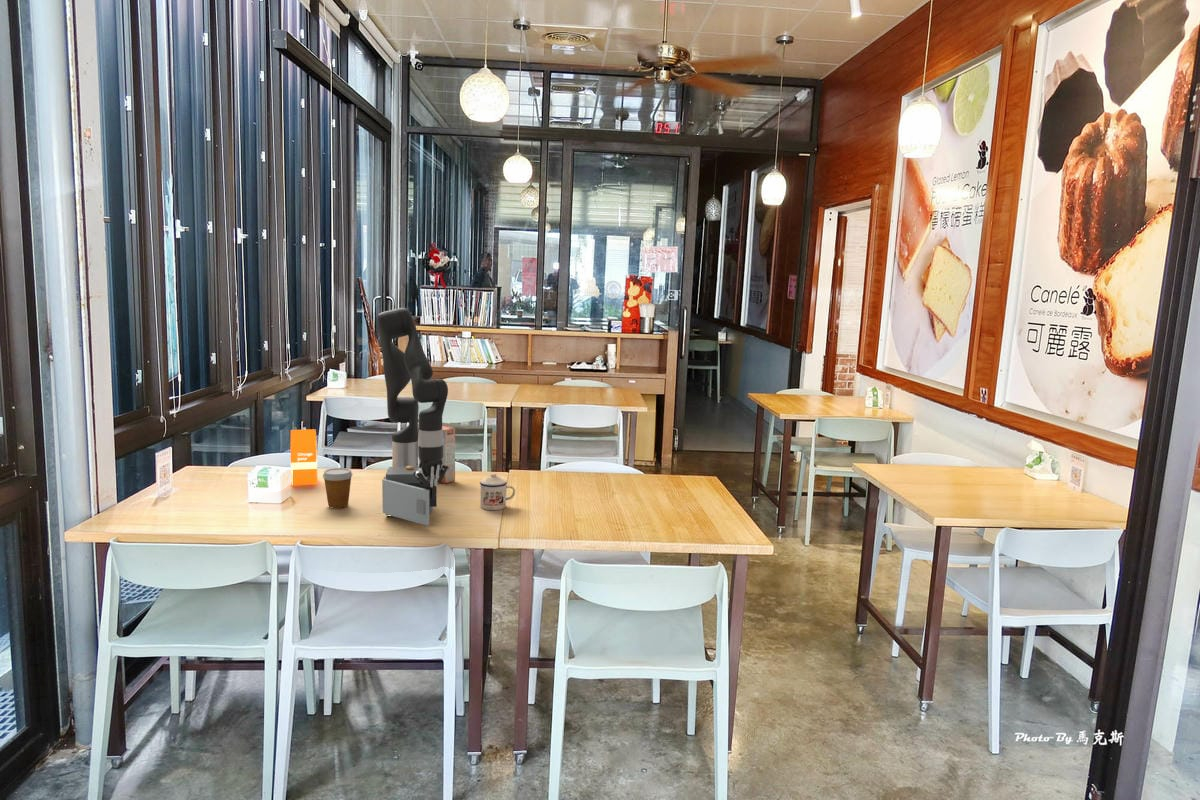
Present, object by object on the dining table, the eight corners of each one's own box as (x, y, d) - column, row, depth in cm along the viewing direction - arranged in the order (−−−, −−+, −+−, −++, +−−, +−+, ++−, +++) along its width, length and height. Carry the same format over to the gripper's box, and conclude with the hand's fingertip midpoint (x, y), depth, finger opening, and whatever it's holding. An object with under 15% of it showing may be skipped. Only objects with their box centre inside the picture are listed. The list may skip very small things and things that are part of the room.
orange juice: (292, 480, 294) (291, 428, 291) (317, 479, 296) (316, 427, 293) (291, 485, 286) (289, 432, 283) (317, 484, 289) (315, 431, 286)
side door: (385, 512, 254) (385, 479, 252) (429, 524, 242) (429, 490, 241) (380, 513, 252) (380, 480, 250) (424, 526, 241) (424, 491, 239)
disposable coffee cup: (352, 509, 261) (352, 474, 259) (322, 510, 258) (321, 475, 256) (353, 501, 270) (352, 467, 268) (324, 502, 267) (323, 468, 265)
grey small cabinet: (385, 507, 263) (385, 464, 261) (437, 506, 266) (437, 464, 264) (382, 516, 254) (381, 472, 251) (436, 515, 256) (436, 471, 254)
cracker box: (455, 481, 300) (456, 427, 297) (444, 484, 295) (444, 429, 292) (429, 475, 307) (428, 422, 304) (417, 478, 302) (417, 425, 299)
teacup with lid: (480, 511, 263) (480, 477, 261) (479, 503, 272) (479, 470, 270) (516, 510, 265) (516, 476, 263) (513, 502, 274) (514, 470, 272)
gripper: (437, 438, 249) (438, 491, 252) (405, 445, 238) (406, 500, 241) (454, 441, 245) (455, 495, 248) (423, 449, 234) (423, 505, 237)
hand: (431, 497), depth 244 cm, fingers closed
